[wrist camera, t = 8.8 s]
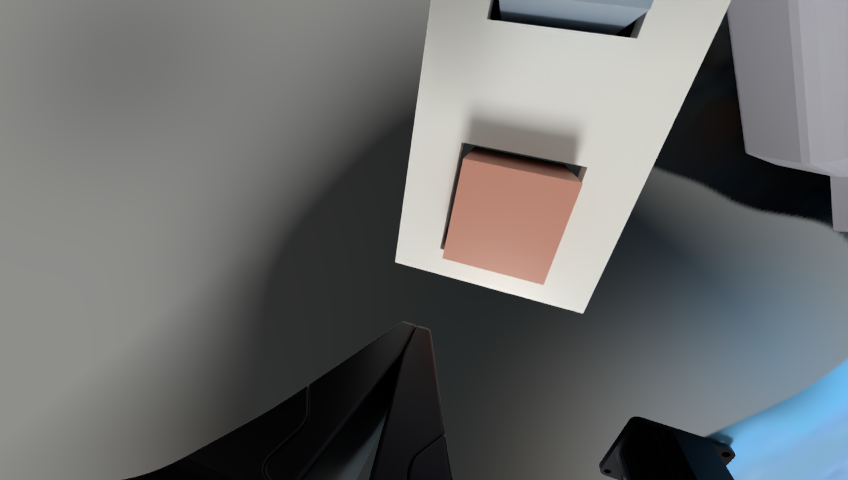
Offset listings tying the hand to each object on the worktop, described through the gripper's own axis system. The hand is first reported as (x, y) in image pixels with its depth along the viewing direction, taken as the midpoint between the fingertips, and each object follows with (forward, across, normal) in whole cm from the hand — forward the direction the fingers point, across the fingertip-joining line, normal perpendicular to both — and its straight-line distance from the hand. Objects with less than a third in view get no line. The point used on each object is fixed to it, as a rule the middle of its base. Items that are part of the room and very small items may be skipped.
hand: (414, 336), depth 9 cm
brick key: (+10, -2, -2) cm, 11 cm away
